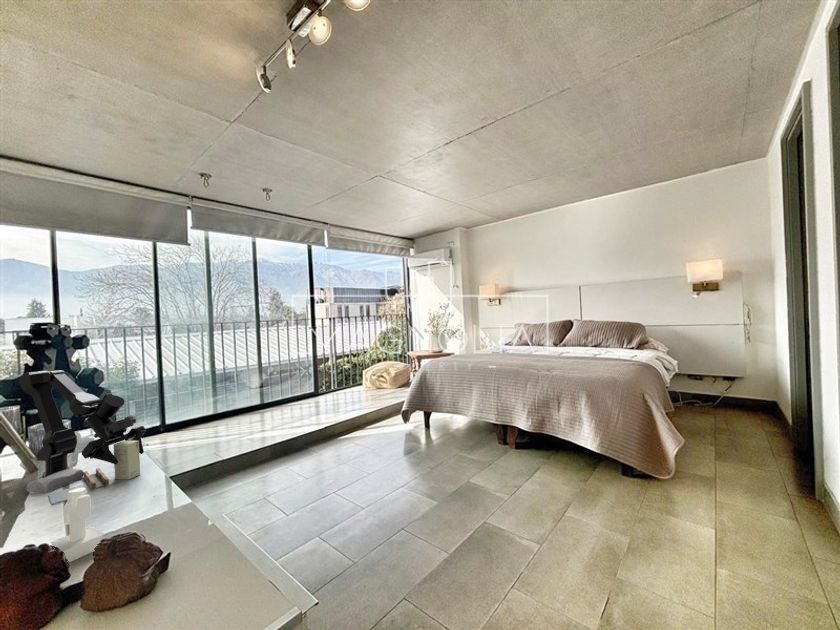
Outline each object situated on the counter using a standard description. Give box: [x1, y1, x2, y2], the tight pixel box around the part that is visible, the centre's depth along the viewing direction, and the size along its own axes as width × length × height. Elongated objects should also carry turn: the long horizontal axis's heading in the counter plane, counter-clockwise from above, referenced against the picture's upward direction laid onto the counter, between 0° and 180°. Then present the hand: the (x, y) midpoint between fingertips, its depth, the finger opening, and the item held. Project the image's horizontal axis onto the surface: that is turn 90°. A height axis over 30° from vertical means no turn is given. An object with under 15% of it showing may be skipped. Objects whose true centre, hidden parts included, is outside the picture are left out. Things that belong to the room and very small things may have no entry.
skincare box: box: [112, 440, 141, 480], centre depth 124 cm, size 6×4×12 cm
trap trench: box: [83, 467, 110, 490], centre depth 121 cm, size 16×4×2 cm, turn 51°
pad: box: [47, 484, 89, 506], centre depth 112 cm, size 10×8×1 cm
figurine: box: [50, 487, 105, 563], centre depth 82 cm, size 7×9×15 cm
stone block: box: [26, 468, 85, 494], centre depth 120 cm, size 12×5×10 cm
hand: (130, 458), depth 124 cm, fingers open, 9 cm apart
